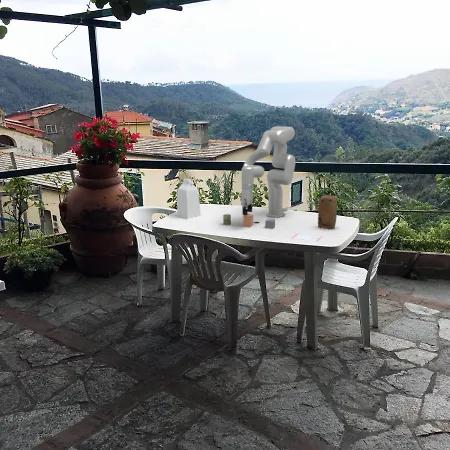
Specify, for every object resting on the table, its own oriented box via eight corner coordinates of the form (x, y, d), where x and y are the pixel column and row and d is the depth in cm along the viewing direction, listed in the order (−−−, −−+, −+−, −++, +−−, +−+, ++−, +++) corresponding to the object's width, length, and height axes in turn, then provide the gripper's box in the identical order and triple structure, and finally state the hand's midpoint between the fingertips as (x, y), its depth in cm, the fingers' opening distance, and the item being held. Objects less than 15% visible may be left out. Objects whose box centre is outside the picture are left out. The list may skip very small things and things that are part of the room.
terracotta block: (245, 224, 291) (245, 213, 290) (253, 224, 290) (253, 214, 288) (243, 226, 287) (243, 215, 285) (250, 227, 285) (250, 216, 283)
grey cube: (267, 226, 286) (267, 218, 285) (275, 226, 285) (275, 219, 283) (265, 228, 282) (265, 220, 280) (273, 228, 280) (273, 221, 279)
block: (337, 227, 280) (338, 195, 274) (333, 230, 273) (334, 197, 268) (320, 224, 285) (321, 193, 280) (316, 227, 279) (316, 196, 274)
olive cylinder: (228, 222, 297) (227, 213, 295) (232, 224, 293) (232, 215, 291) (221, 223, 294) (221, 215, 292) (226, 225, 290) (226, 216, 288)
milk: (177, 216, 317) (175, 179, 310) (190, 213, 325) (188, 177, 318) (187, 219, 309) (185, 181, 302) (200, 215, 316) (199, 179, 309)
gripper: (246, 184, 290) (246, 210, 295) (237, 188, 275) (237, 216, 279) (257, 184, 288) (257, 211, 292) (249, 189, 272) (248, 216, 276)
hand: (247, 213), depth 285 cm, fingers open, 9 cm apart
